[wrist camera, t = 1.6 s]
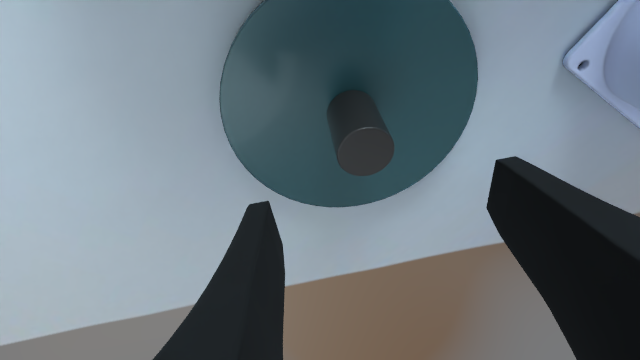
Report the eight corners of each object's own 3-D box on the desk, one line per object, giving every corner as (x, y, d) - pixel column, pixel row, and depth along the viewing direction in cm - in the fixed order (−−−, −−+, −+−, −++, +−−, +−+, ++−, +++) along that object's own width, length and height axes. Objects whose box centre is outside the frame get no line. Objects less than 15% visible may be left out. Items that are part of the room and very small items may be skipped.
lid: (520, 56, 18) (585, 97, 14) (372, 220, 24) (390, 279, 20) (301, -115, 13) (312, -121, 9) (185, 145, 19) (163, 205, 15)
